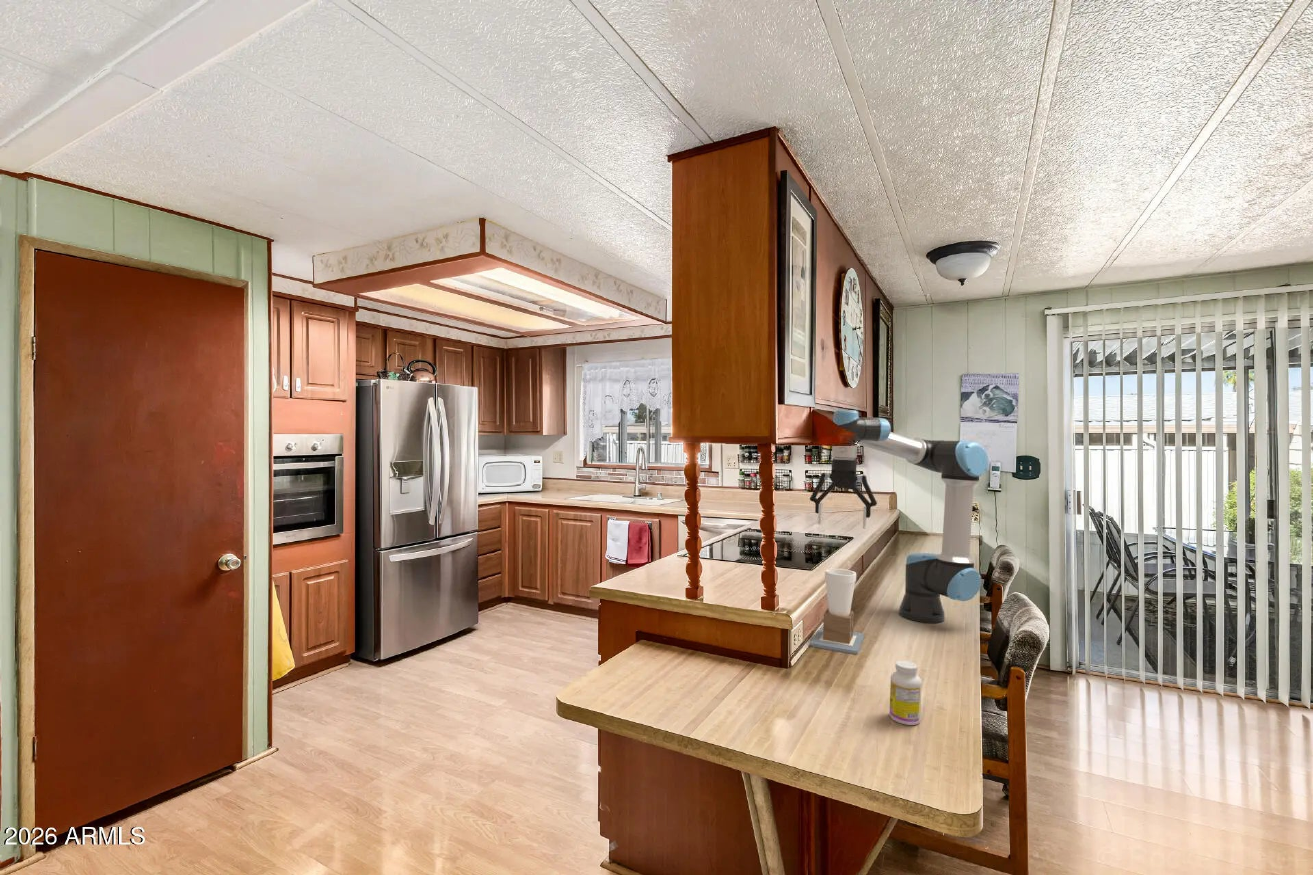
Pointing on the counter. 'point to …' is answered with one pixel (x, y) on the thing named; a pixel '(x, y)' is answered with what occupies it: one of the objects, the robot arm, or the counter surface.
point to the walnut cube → (838, 627)
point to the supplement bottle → (905, 694)
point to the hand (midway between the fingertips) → (841, 525)
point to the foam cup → (840, 590)
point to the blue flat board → (838, 643)
